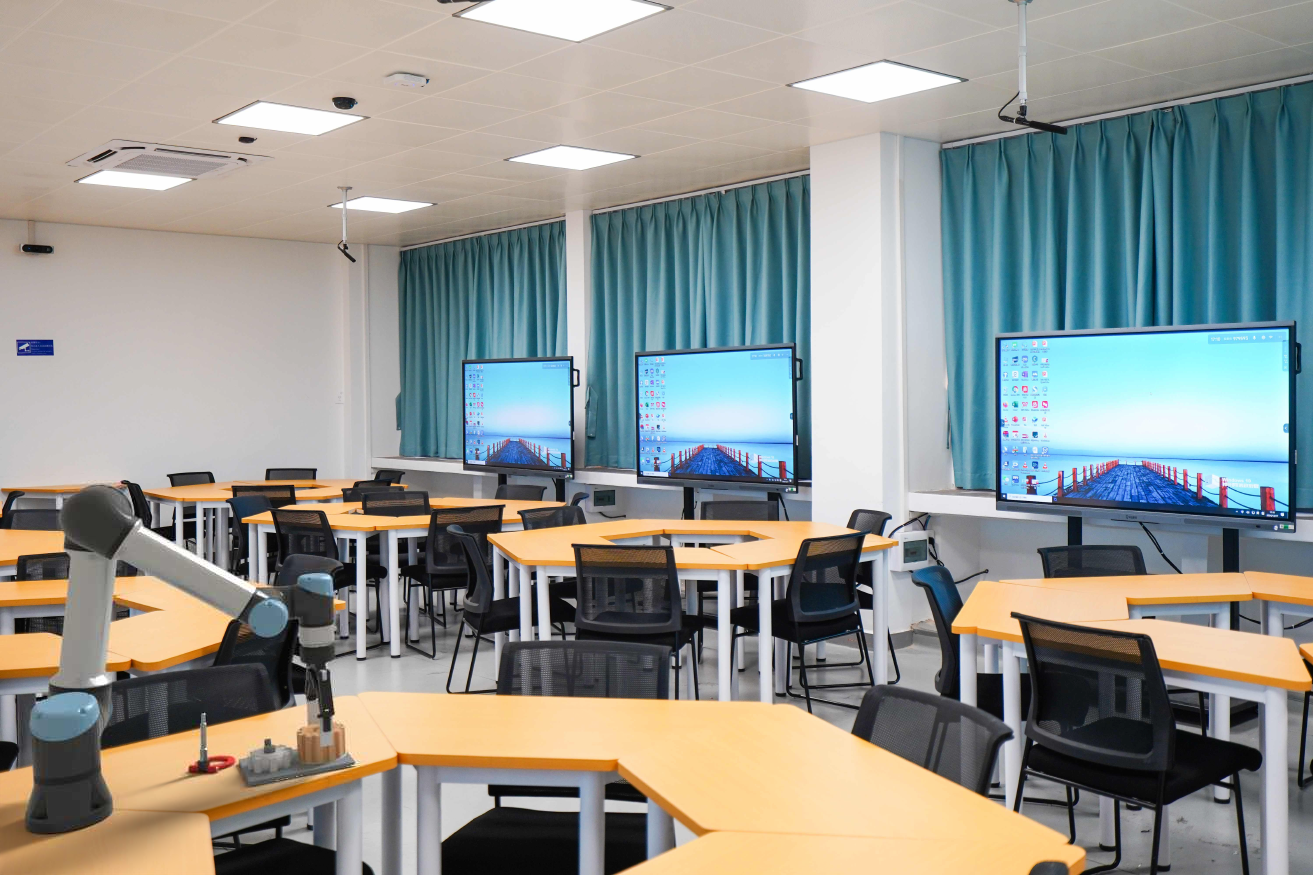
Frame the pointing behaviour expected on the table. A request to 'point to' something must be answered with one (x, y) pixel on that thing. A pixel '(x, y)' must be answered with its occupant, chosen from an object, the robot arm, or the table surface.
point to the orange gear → (311, 744)
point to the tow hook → (204, 761)
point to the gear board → (291, 769)
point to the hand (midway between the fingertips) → (320, 736)
